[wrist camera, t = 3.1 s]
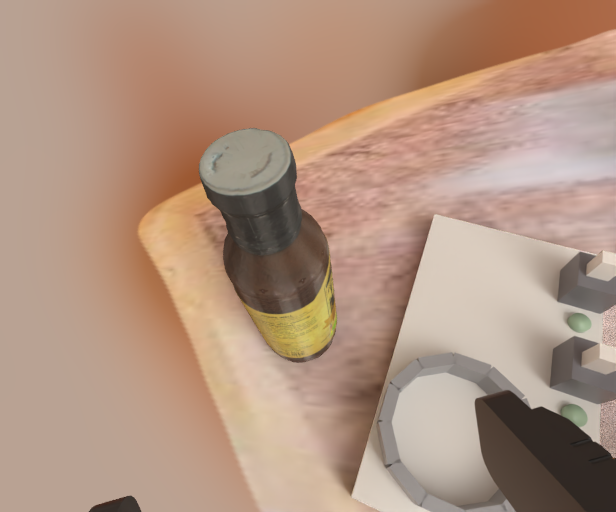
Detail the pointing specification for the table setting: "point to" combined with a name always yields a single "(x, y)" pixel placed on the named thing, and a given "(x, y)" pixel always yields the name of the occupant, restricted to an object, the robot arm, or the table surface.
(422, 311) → the breaker board
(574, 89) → the table surface
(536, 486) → the robot arm
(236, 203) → the sauce bottle
